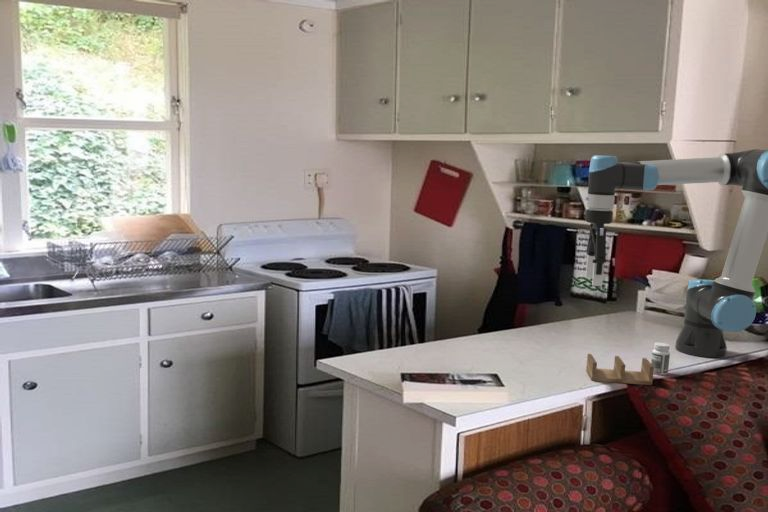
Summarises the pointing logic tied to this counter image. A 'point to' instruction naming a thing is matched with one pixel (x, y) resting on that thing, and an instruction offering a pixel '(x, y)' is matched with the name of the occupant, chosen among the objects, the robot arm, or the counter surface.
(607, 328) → the counter surface
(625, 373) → the rack
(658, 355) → the pill bottle
